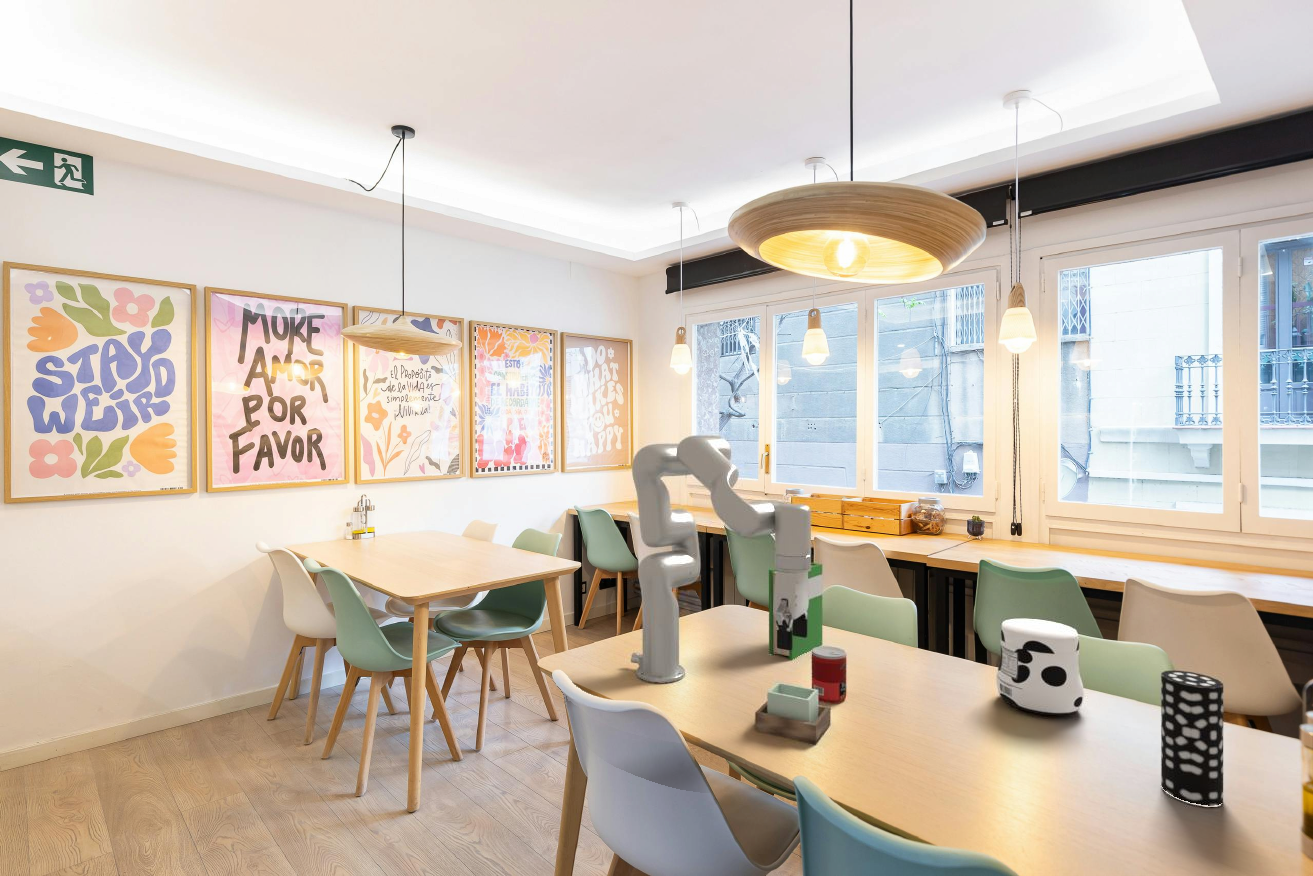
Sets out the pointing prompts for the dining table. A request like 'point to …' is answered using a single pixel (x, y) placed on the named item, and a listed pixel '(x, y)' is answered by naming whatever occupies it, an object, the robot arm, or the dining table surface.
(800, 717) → the small crate
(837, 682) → the canned food
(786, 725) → the large crate
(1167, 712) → the spotted tube
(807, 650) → the hardback book
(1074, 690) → the milk container
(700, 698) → the dining table surface
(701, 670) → the dining table surface
